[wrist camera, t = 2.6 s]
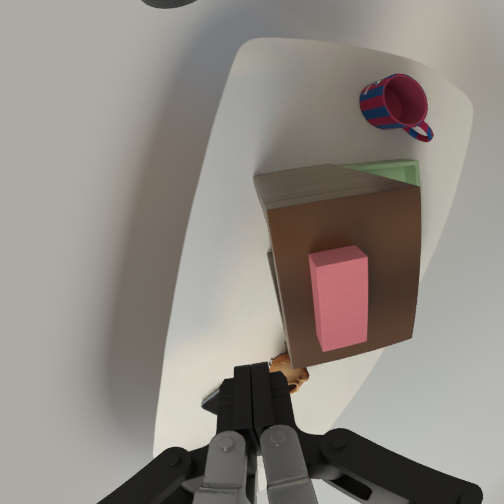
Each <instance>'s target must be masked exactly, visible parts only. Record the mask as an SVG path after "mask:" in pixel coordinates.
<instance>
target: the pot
mask: <svg viewBox="0 0 504 504" xmlns="http://www.w3.org/2000/svg"><path fill="white" fill-rule="evenodd" d="M284 342H285V341H284ZM285 347H286V353H282V354H280V355H278V356H276V357H275V358H274V359H273V358H271V360H273V361H272V365H271V364H270V363H269V365H270V370H269V371H270V372H276V371H282V373H283V374H284V375H285V376H286V377H287V381H288V387H289V392H290V394H292V393H295V392H297V391H298V390H299V388H300V386H301V385H302V384H303V383H304V382H305V381H307V380H308V378H309V373H308V371H307V368H306V367H303V368H299V369H293V370H292V367H291V362H290V357H289V353H288V350H287V346H286V342H285Z"/></svg>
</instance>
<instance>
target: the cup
mask: <svg viewBox="0 0 504 504" xmlns="http://www.w3.org/2000/svg"><path fill="white" fill-rule="evenodd" d="M360 108H361V111H362V113H363V115H364V117H365V118H366V120H367V121H368V122H369V123H370V124H372V125H373V126H375V127H377V128H380V129H393V128H403V129H404V130H405V131H406V132H407V133H408V134H410V135H411V136H412V137H414V138H415V139H417V140H420V141H423V142H429V141H431V140H432V138H433V136H434V134H433V132H432V130H431V128H430V127H429V126H428V125H427V124H426V123H425V122H424V119H425V117H426V115H427V110H428V104H427V98H426V95H425V93H424V91H423V89H422V87H421V86H420V85H419V83H418V82H417V81H416V80H414V79H413V78H412V77H410V76H408V75H405V74H394V75H391V76H388V77H386V78H383V79H381V80H379V81H376V82H374V83H372V84H369V85H368V86H366V87H365V88H364V89H363V91H362V93H361V95H360ZM416 126H419V127H420V128H422V129H423V130H424V131H425V132H426V134H427V135H428V136H424V135H421V134H419V133H418V132H416V131H415V130H414V129H412V128H411V127H416Z"/></svg>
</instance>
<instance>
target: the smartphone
mask: <svg viewBox="0 0 504 504" xmlns="http://www.w3.org/2000/svg"><path fill="white" fill-rule="evenodd" d="M218 400H219V389H218V390H216V391H215V392H214V393H213V394H211V395H210V396H209V397H208V398H206V399H205V400H204V401H203V402H202V405H201V407H202V408H203V409H204V410H206V411H209V412H211V413H213V414H215V415H218V406H219V405H218Z"/></svg>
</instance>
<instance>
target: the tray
mask: <svg viewBox="0 0 504 504" xmlns="http://www.w3.org/2000/svg"><path fill="white" fill-rule="evenodd" d="M340 167H345V168H350V169H354V170H358V171H363V172H367V173H371V174H375V175H379V176H383V177H387V178H391V179H395V180H398V181H402V182H406V183H409V184H413V185H416V186H420V179H419V166H418V161H417V160H410V159H397V160H386V161H375V162H366V163H357V164H348V165H340Z"/></svg>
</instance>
